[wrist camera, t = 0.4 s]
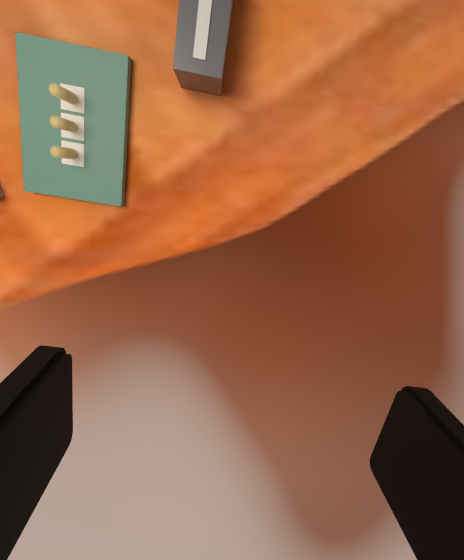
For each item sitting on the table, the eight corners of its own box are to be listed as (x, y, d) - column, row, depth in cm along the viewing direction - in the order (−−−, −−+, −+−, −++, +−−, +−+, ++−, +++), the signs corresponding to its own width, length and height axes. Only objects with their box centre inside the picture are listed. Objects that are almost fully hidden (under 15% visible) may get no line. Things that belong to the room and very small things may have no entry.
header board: (23, 37, 29) (-13, 12, 24) (131, 59, 30) (116, 40, 25) (30, 190, 33) (1, 193, 29) (124, 205, 34) (110, 210, 30)
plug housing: (192, -25, 28) (185, -78, 22) (235, -15, 28) (240, -64, 22) (181, 87, 31) (172, 67, 25) (220, 95, 31) (221, 77, 25)
